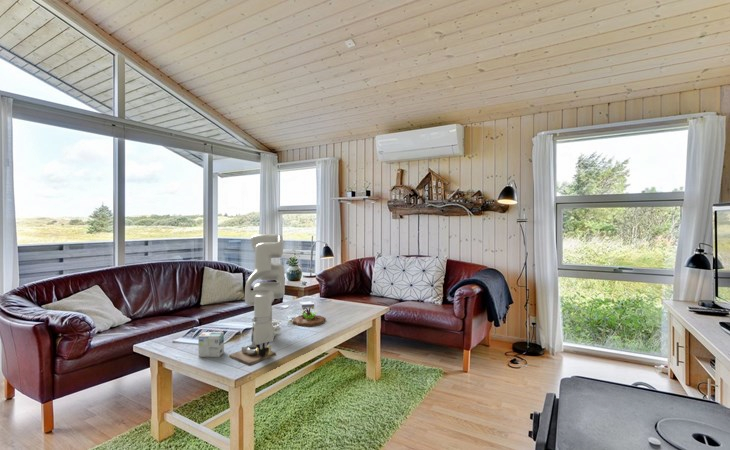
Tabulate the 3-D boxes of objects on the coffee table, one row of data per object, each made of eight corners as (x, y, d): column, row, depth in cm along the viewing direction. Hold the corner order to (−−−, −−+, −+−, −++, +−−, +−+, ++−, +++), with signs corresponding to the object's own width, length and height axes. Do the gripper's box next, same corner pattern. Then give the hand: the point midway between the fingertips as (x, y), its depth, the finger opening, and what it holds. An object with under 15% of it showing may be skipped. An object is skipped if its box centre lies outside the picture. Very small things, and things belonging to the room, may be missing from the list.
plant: (313, 329, 228) (313, 311, 227) (287, 324, 236) (288, 307, 235) (329, 320, 246) (330, 304, 245) (305, 316, 254) (305, 300, 253)
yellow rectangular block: (239, 354, 183) (239, 346, 182) (246, 349, 189) (246, 341, 189) (266, 357, 180) (266, 349, 179) (272, 352, 186) (272, 344, 186)
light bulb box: (224, 351, 189) (224, 331, 189) (219, 357, 183) (219, 336, 182) (203, 351, 189) (203, 331, 188) (198, 357, 182) (197, 335, 182)
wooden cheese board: (255, 347, 196) (255, 337, 196) (275, 354, 186) (275, 344, 186) (229, 356, 183) (229, 346, 183) (249, 365, 173) (249, 354, 173)
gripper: (251, 324, 171) (251, 362, 172) (279, 317, 181) (279, 354, 182) (244, 320, 176) (244, 357, 177) (271, 314, 187) (271, 349, 187)
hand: (262, 355), depth 179 cm, fingers closed
